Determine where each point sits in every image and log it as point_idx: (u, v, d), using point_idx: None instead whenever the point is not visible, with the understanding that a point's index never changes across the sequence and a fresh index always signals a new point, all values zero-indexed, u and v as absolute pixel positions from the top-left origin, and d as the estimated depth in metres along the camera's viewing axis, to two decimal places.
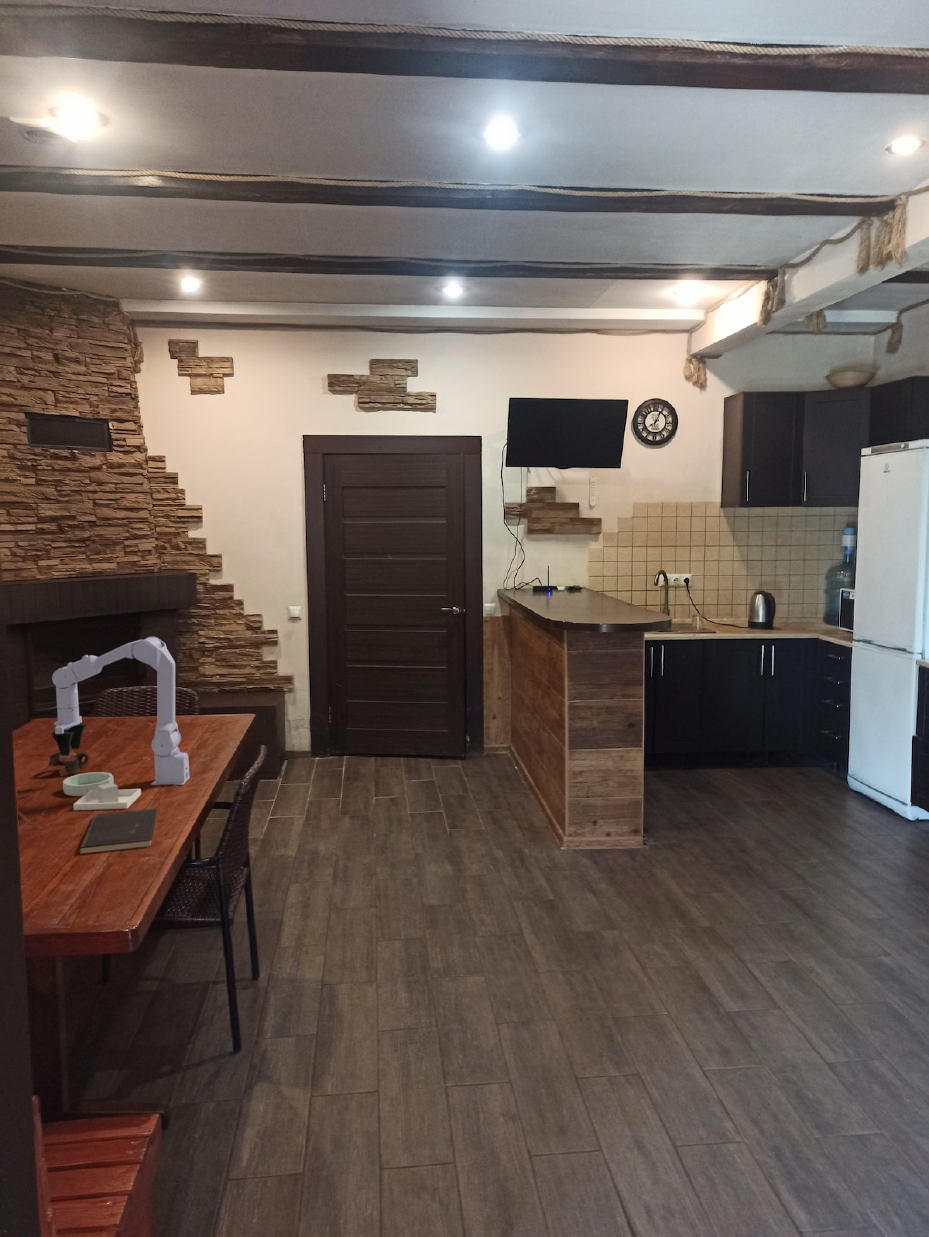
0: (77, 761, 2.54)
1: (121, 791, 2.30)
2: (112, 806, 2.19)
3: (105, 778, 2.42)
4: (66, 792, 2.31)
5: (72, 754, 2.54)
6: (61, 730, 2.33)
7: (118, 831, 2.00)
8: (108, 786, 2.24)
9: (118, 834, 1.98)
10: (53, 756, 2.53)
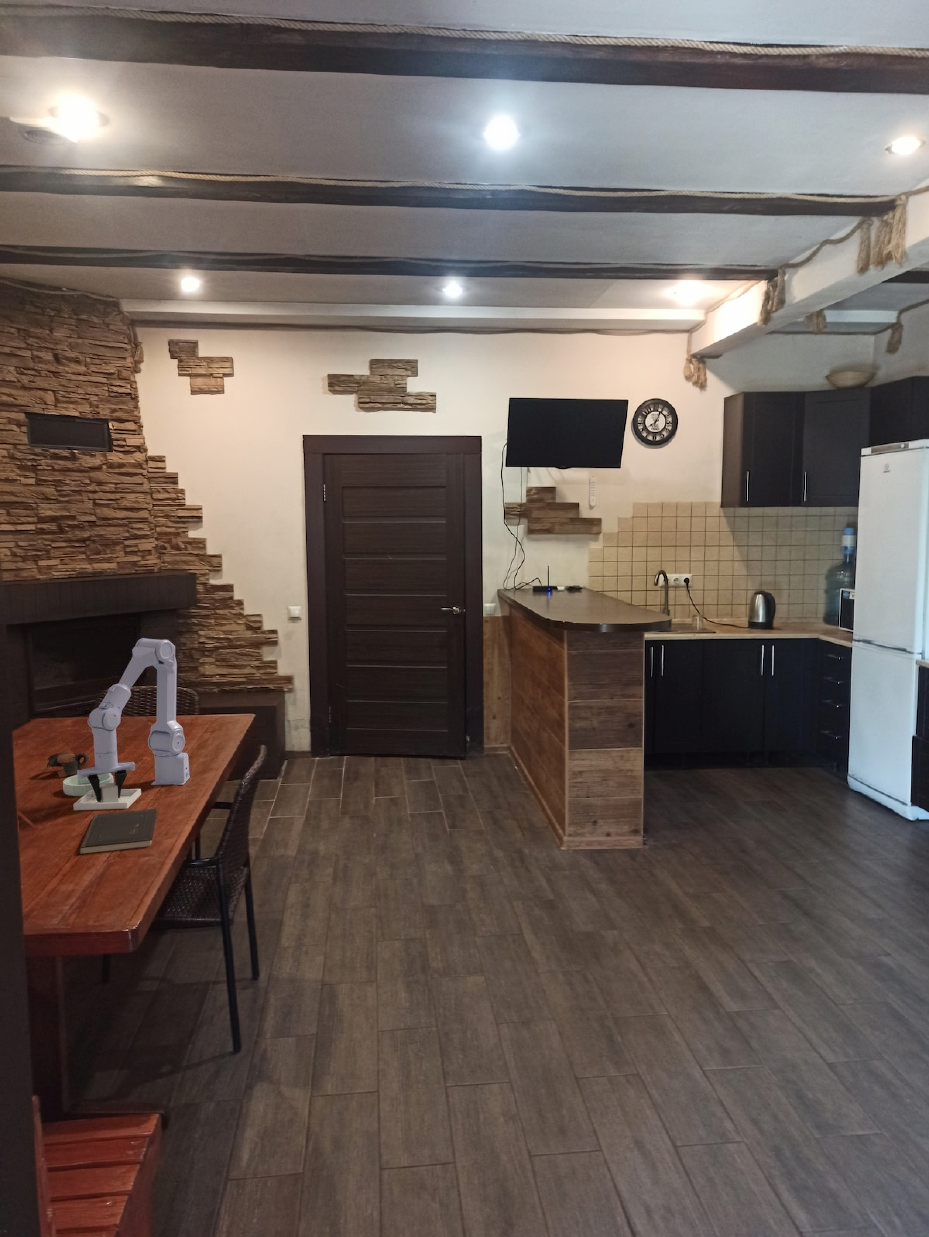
0: (75, 762, 2.53)
1: (121, 791, 2.30)
2: (112, 806, 2.19)
3: (105, 778, 2.42)
4: (66, 792, 2.31)
5: (70, 755, 2.53)
6: (78, 775, 2.19)
7: (118, 831, 2.00)
8: (108, 786, 2.24)
9: (118, 833, 1.98)
10: (51, 757, 2.52)
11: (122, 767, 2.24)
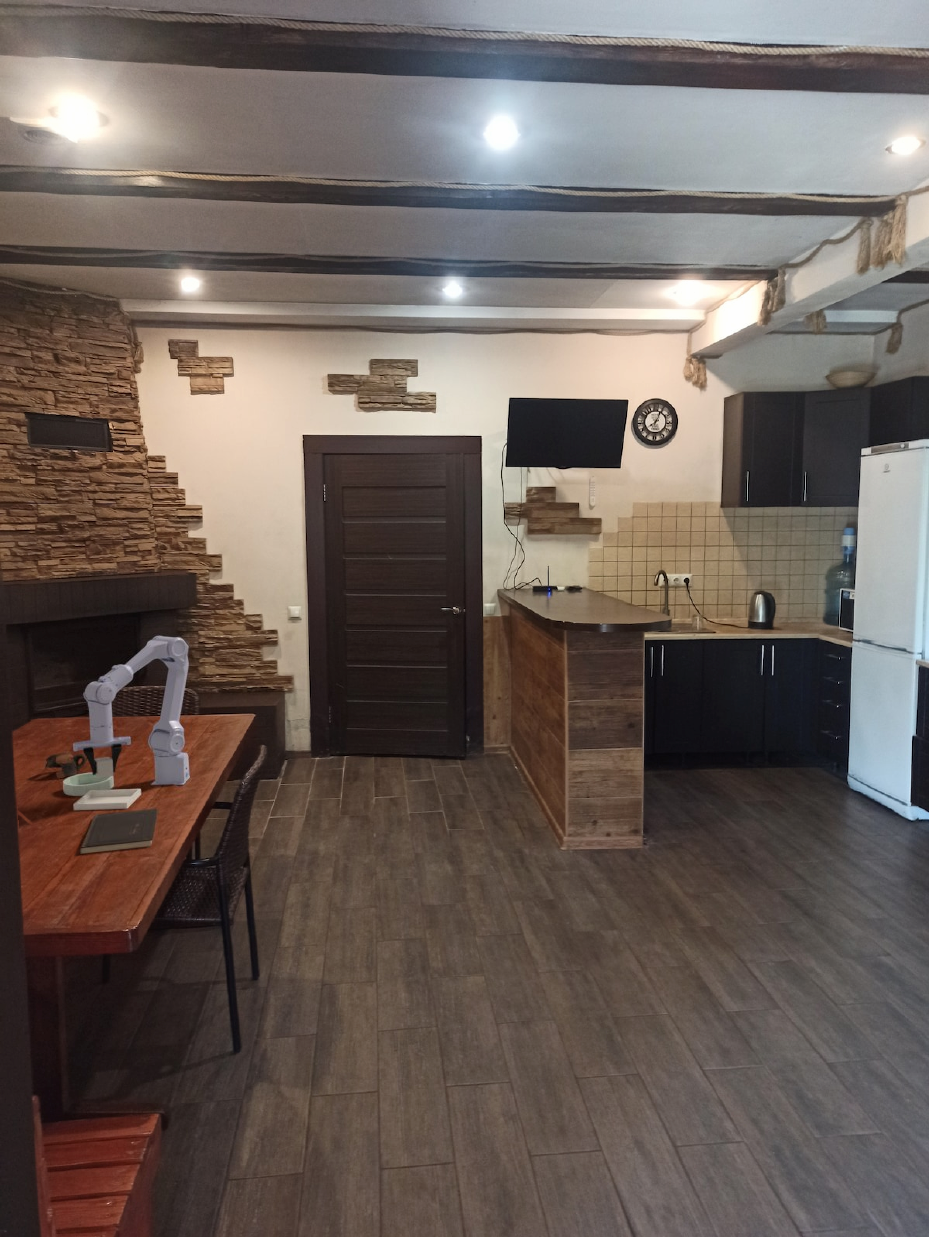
0: (74, 763, 2.52)
1: (121, 791, 2.30)
2: (112, 806, 2.19)
3: (105, 778, 2.42)
4: (66, 792, 2.31)
5: (69, 756, 2.52)
6: (73, 747, 2.21)
7: (119, 831, 2.00)
8: (103, 760, 2.25)
9: (119, 833, 1.98)
10: (50, 758, 2.50)
11: (117, 741, 2.25)
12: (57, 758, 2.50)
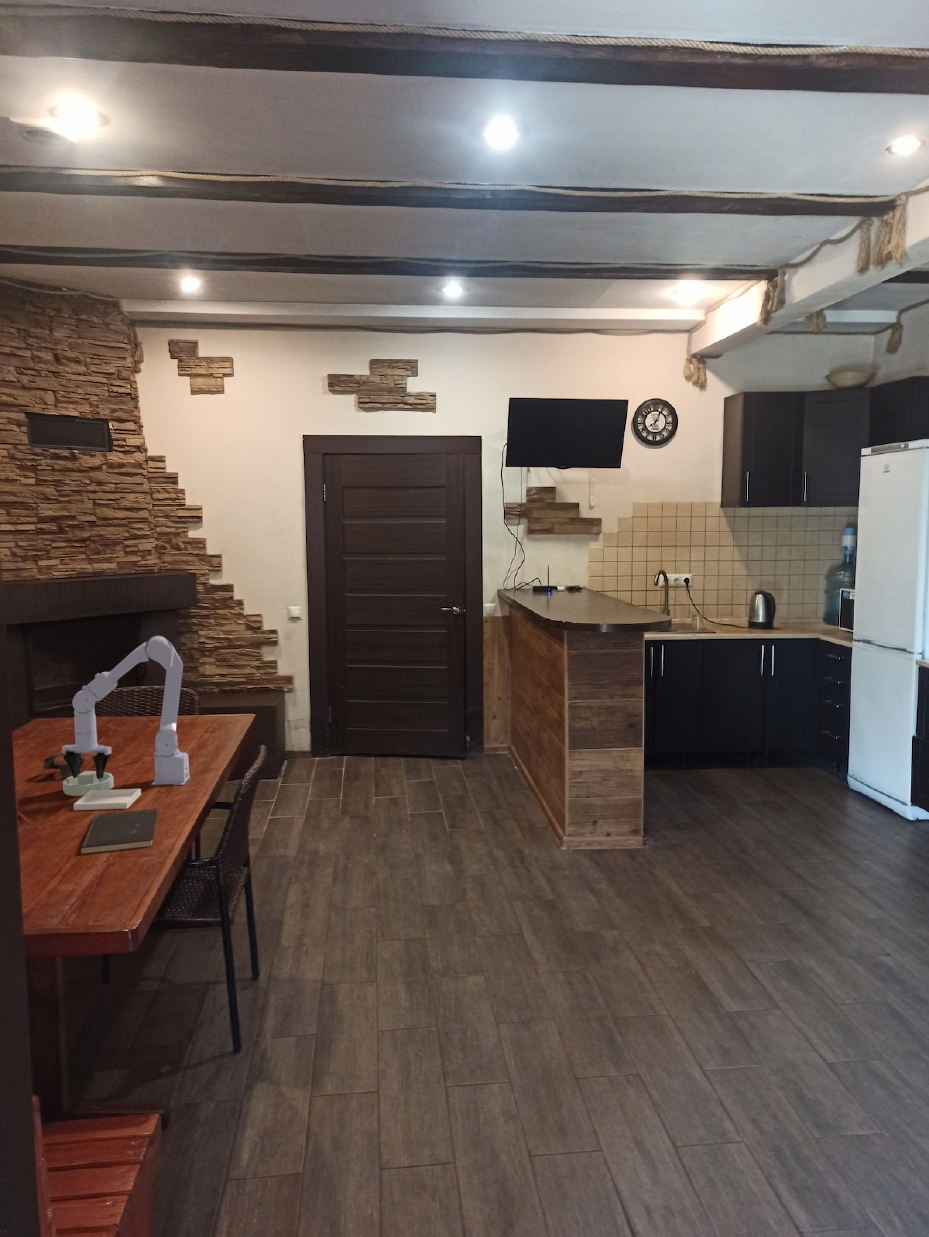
0: None
1: (121, 791, 2.30)
2: (112, 806, 2.19)
3: (105, 778, 2.42)
4: (66, 792, 2.31)
5: None
6: None
7: (119, 831, 2.00)
8: (86, 773, 2.36)
9: (119, 833, 1.98)
10: (47, 759, 2.49)
11: (94, 750, 2.33)
12: (55, 759, 2.49)
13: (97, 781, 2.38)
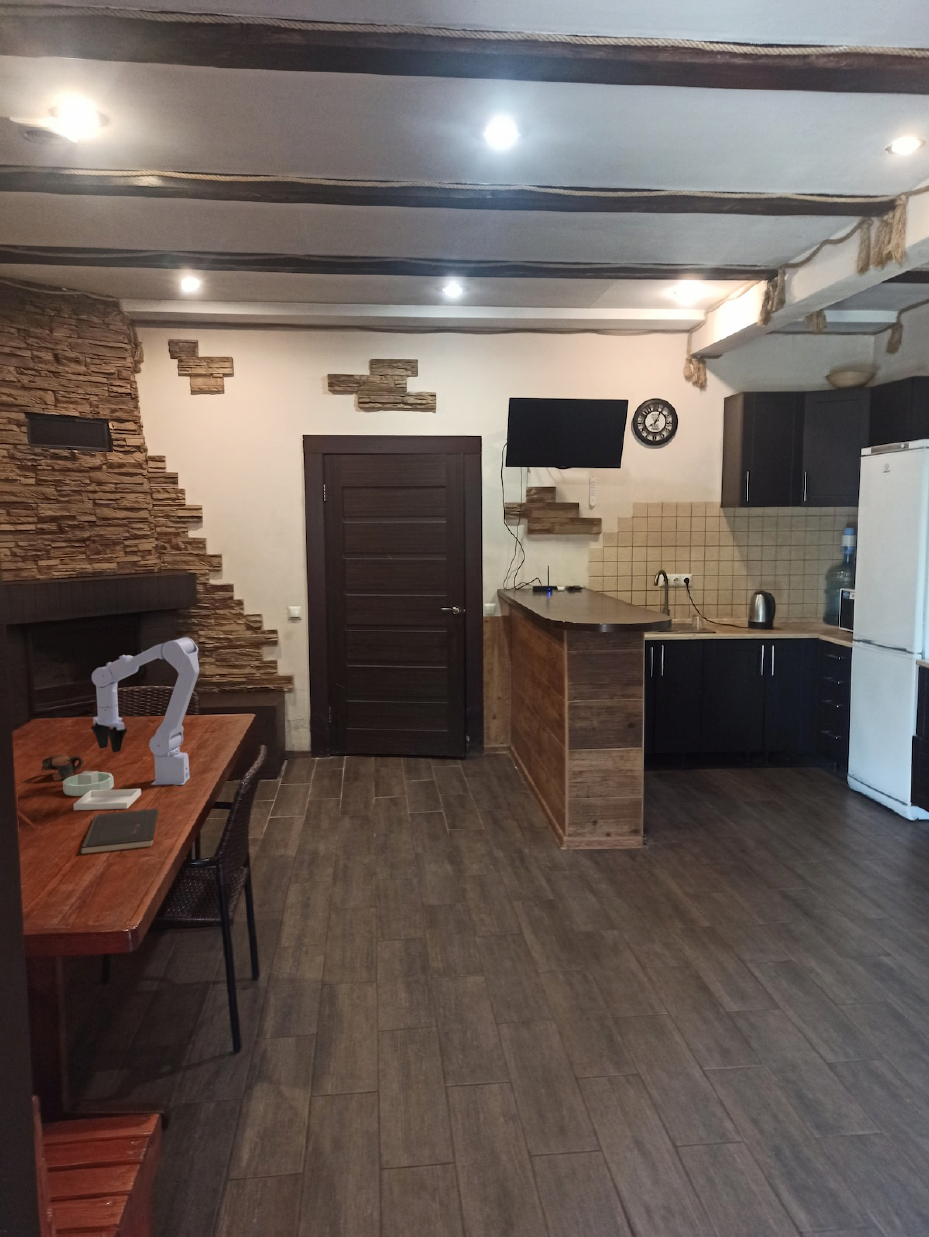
0: (70, 765, 2.50)
1: (121, 791, 2.30)
2: (112, 806, 2.19)
3: (105, 778, 2.42)
4: (66, 792, 2.31)
5: (65, 758, 2.50)
6: None
7: (119, 831, 2.00)
8: (86, 773, 2.36)
9: (119, 833, 1.98)
10: (46, 760, 2.48)
11: (109, 724, 2.41)
12: (53, 760, 2.48)
13: (97, 781, 2.38)
